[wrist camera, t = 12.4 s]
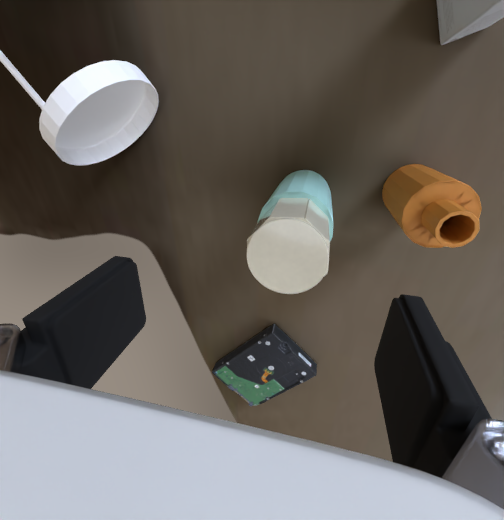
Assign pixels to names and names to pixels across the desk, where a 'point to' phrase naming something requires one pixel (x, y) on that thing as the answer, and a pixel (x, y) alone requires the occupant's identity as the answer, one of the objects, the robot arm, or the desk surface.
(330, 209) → the bottle
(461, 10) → the cosmetic box
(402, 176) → the amber bottle
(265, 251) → the cream short cylinder
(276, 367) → the disk drive
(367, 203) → the desk surface
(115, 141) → the desk lamp
